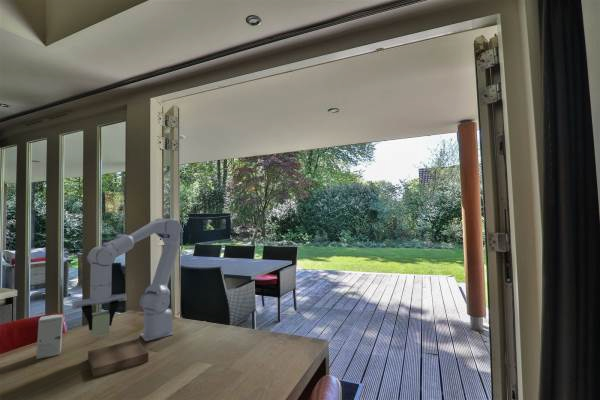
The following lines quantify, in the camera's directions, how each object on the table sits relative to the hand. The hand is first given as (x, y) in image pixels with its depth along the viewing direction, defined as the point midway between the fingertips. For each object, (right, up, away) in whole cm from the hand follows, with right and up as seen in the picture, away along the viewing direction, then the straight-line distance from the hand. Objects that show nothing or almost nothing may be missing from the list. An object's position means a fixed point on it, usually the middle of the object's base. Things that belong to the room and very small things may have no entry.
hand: (100, 327), depth 96 cm
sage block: (0, -2, 0) cm, 2 cm away
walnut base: (+7, -9, -3) cm, 12 cm away
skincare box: (-18, -10, +2) cm, 20 cm away
